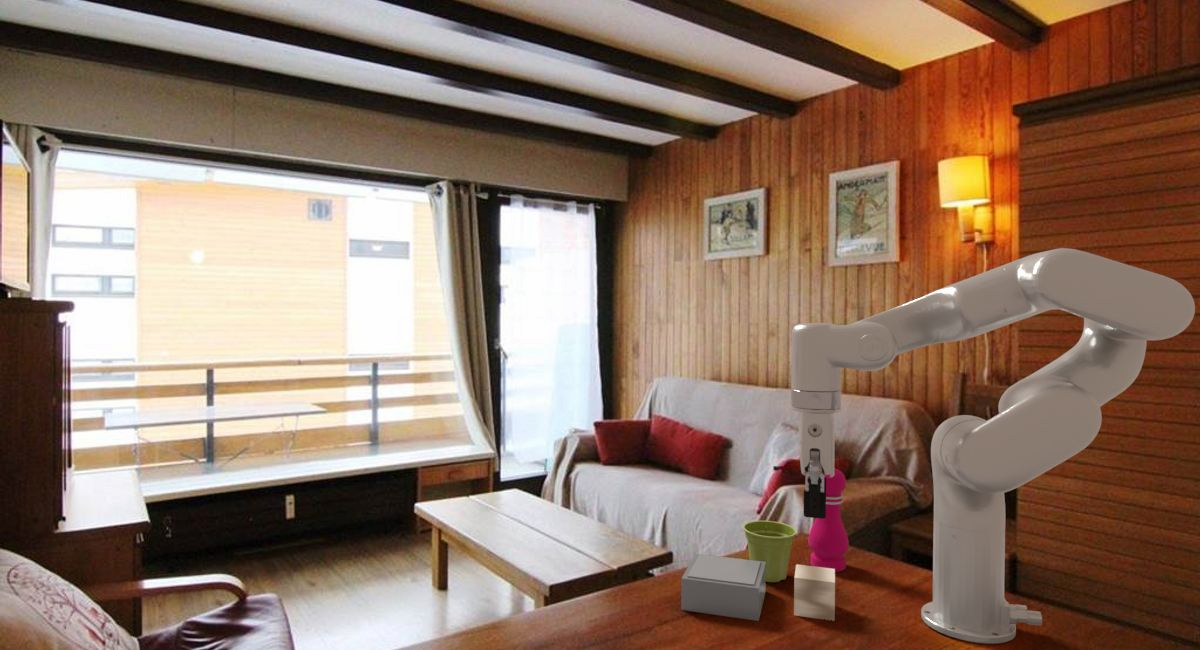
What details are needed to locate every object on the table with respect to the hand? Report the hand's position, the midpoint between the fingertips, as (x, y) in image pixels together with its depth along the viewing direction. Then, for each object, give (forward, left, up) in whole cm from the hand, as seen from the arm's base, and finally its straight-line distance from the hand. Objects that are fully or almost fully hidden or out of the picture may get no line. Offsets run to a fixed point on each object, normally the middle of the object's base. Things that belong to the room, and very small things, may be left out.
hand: (815, 508), depth 108 cm
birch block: (0, 0, -16) cm, 16 cm away
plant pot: (+8, -12, -16) cm, 22 cm away
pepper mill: (-2, -21, -16) cm, 27 cm away
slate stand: (+14, +1, -16) cm, 21 cm away
